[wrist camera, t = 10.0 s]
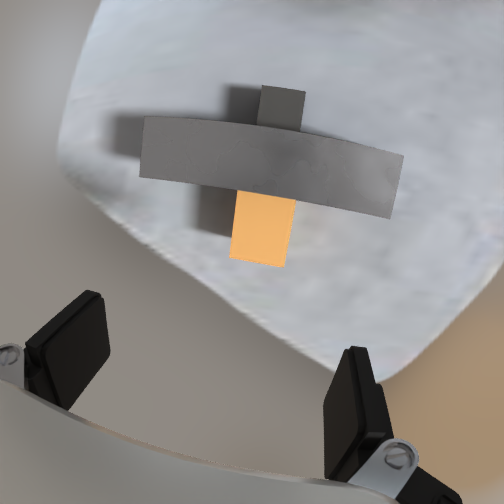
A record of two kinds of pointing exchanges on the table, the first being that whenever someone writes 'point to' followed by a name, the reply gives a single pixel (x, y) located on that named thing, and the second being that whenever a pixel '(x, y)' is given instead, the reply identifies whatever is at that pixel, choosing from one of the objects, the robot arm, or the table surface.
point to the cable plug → (265, 206)
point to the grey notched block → (271, 163)
